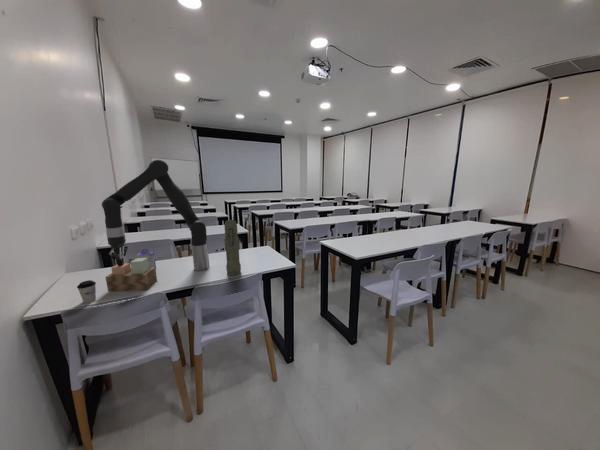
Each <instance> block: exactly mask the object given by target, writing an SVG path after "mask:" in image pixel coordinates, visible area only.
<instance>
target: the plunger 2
mask: <svg viewBox="0 0 600 450" xmlns="http://www.w3.org/2000/svg"><path fill="white" fill-rule="evenodd" d="M130 266H131V270H132V274H144V273H146V272H147V271H148V270H150V269H149V262H148V258H136V257H135V259H132V260H131V261H130Z"/></svg>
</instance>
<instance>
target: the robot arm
mask: <svg viewBox="0 0 600 450" xmlns="http://www.w3.org/2000/svg"><path fill="white" fill-rule="evenodd" d="M168 172H169V165H168V164H167V162H165V161H164V160H161V159H156V160H153V161H151V162H150V163H149V165H148V167H147V168H146V169H145V170H144V171H143V172H141V173H140V174H139V175H138V176H136V177H134V178H133V179H132V180H130V181H128V182H126V184H124V185H123V186H121V187H120V188H119V189H118V190H117V191H116V192H114V193H112V194H111V195H109V196H108V197H106V198H105V199H103V201H102V202H101V207H102V209H103V212H104V216H105V218H104V223H105V227H106V228H105V231H106V232H105V233H106V239H107V244H108V245H109V246H110V252H108V253H107V255H108V256H109V257H110V258H111V259H112V260H116V265H117V264H118V266H122V265H124V257H126V255H127V252H128V248H129V247H128V246H127V245H125V243H126V235H125V230H124V227H123V219H122V212H121V211H122V210H121V209H122V208H121V206H122V205H123V204H125V202H128V201H130V200H132V199H133V198H134V197H135V196H136V195H138V194H139V193H141V191H142V190H144V189H145V188H146V187H147V186H149V185H150V184H151V183H152V182H154V181H155V180H156V182H157V183H158V184H159V185H160V186H161V188H162V190H163V192H164V194H165V195H166V197H167V198H168V200H169V201H170V203H171V205H172V206H173V207H174V209H175V210H176V211H177V212H178V213H179V215H180V216H181V217H182V218H183V219H184V221H185V223H186V225H187V227H188V229H189V231H190V234H191V241H190V242H191V243H190V244H191V251H192V260H193V261H192V263H193V270H194V271H204V270H208V269H209V267H210V257H209V253H208V246H207V240H208V238H207V237H208V236H207V227H206V224H205V223H204V222H202V221H201V220H200V218H199V217H198V215H197V214H195V212H194V210H193V207H192V205H191V203H190V201H189V199H188V197H187V196H186V194H185V193H184V191H183V190H182V189H181V188H180V187H179V186H178V185H177V184H176V183H175V182H174V181H173V179H172V178H171V177H170V175H169V173H168Z"/></svg>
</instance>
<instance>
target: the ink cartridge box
mask: <svg viewBox="0 0 600 450" xmlns="http://www.w3.org/2000/svg"><path fill="white" fill-rule="evenodd" d="M136 258H148V262H149V268H152V267H155V268H156V269H157V264H156V257H155V252H154V251H150V252H149V249H146V248H145V249H141V252H140V253H137V254H136V255H135V259H136Z"/></svg>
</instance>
